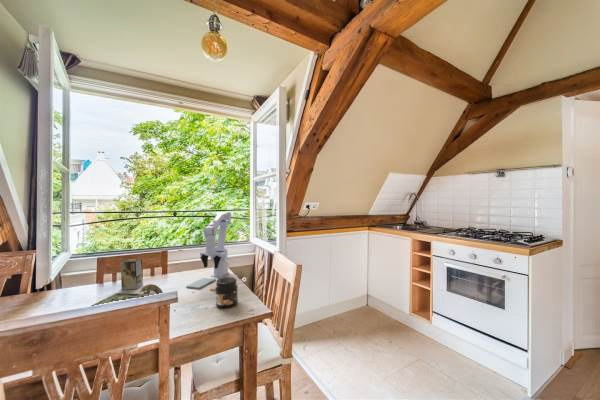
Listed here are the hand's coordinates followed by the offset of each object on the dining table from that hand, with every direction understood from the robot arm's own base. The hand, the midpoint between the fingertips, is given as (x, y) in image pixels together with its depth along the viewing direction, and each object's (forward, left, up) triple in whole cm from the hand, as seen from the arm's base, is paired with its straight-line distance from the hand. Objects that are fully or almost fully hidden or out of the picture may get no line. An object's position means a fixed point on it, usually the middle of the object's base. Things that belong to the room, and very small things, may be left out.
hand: (211, 267), depth 154 cm
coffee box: (+19, -41, -10) cm, 46 cm away
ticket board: (+4, -4, -9) cm, 11 cm away
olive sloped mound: (+35, -22, -10) cm, 43 cm away
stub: (+4, +11, -9) cm, 15 cm away
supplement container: (+24, +27, -10) cm, 37 cm away
